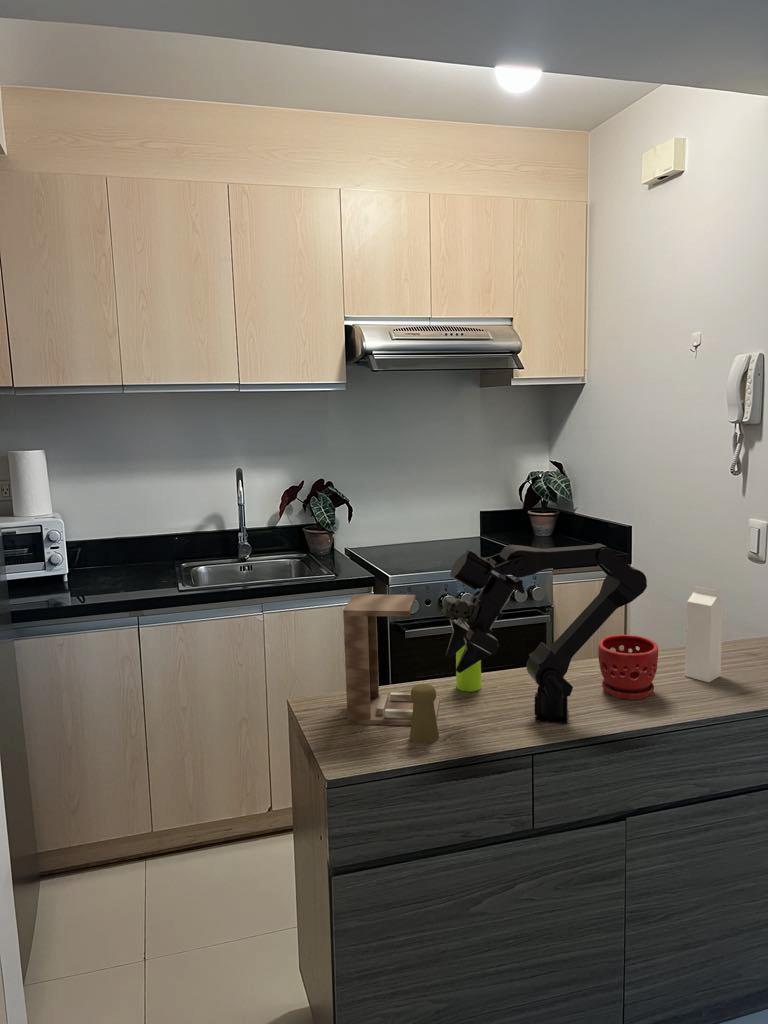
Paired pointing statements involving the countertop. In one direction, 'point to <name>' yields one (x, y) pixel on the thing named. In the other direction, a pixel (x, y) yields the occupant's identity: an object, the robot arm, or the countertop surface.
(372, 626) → the wooden stand
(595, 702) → the countertop surface
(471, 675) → the soap dispenser
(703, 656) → the milk
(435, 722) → the cork
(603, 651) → the plant pot
